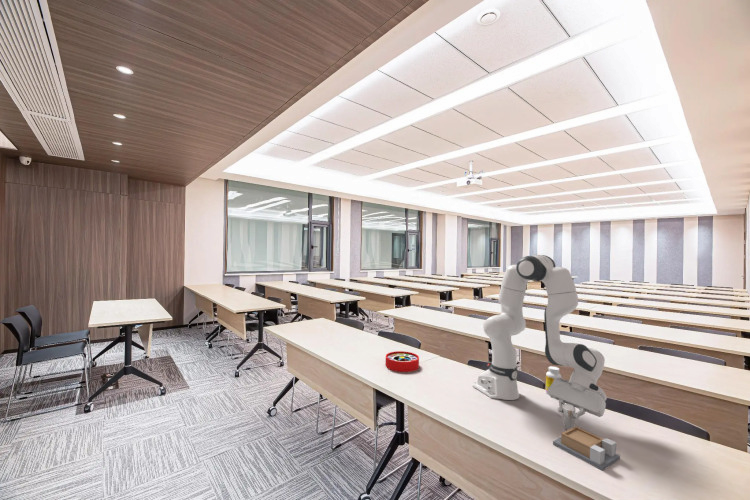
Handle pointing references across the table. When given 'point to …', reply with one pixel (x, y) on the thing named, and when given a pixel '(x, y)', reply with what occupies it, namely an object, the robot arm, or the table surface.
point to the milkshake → (568, 416)
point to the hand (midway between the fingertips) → (567, 415)
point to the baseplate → (588, 447)
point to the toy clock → (402, 361)
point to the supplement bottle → (551, 376)
